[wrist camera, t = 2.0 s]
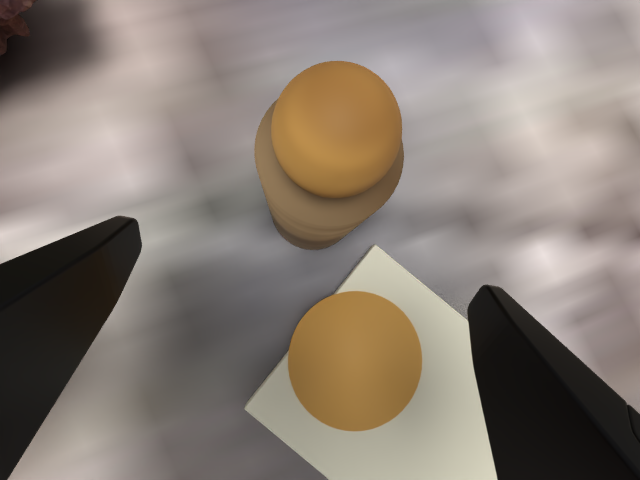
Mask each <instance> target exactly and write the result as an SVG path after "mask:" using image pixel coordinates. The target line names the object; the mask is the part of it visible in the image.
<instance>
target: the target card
mask: <svg viewBox="0 0 640 480" xmlns="http://www.w3.org/2000/svg"><path fill="white" fill-rule="evenodd" d="M244 409H245V410H246V411H247V412H248V413H250V414H251V415H252V416H253V417H254V418H256V419H257V420H258V421H259V422H260V423H262V424H263V425H264V426H265V427H266V428H268V429H269V430H270V431H271V432H272V433H274V434H275V435H276V436H277V437H278V438H280V439H281V440H282V441H283V442H284V443H286V444H287V445H288V446H289V447H290V448H292V449H293V450H294V451H295V452H297V453H298V454H299V455H300V456H301V457H303V458H304V459H305V460H306V461H307V462H309V463H310V464H311V465H312V466H313V467H315V468H316V469H317V470H318V471H319V472H321V473H322V474H323V475H324V476H325V477H327V478H328V479H329V480H497V475H496V470H495V466H494V461H493V456H492V452H491V447H490V443H489V438H488V433H487V429H486V424H485V419H484V415H483V410H482V406H481V401H480V396H479V392H478V387H477V382H476V378H475V373H474V368H473V361H472V353H471V343H470V333H469V324H468V321H467V320H466V319H465V318H464V317H463V316H461V315H460V314H459V313H458V312H457V311H455V310H454V309H453V308H452V307H450V306H449V305H448V304H447V303H446V302H444V301H443V300H442V299H441V298H440V297H438V296H437V295H436V294H435V293H434V292H432V291H431V290H430V289H429V288H427V287H426V286H425V285H424V284H423V283H421V282H420V281H419V280H418V279H417V278H415V277H414V276H413V275H412V274H410V273H409V272H408V271H407V270H406V269H404V268H403V267H402V266H401V265H400V264H398V263H397V262H396V261H395V260H393V259H392V258H391V257H390V256H389V255H387V254H386V253H385V252H384V251H383V250H381V249H380V248H379V247H378V246H376V245H373V246H371V248H370V249H369V250H368V251H367V253H366V254H365V255H364V256H363V258H362V259H361V260H360V261H359V263H358V264H357V265H356V266H355V268H354V269H353V270H352V271H351V273H350V274H349V275H348V276H347V278H346V279H345V280H344V281H343V283H342V284H341V285H340V286H339V288H338V289H337V290H336V291H335V293H334V294H333V295H331V296H329V297H327V298H325V299H323V300H321V301H320V302H318V303H317V304H315V305H314V306H313V307H312V308H311V309H310V310H309V311H308V312H307V313H306V314H305V315H304V316H303V318H302V319H301V320H300V322H299V323H298V325H297V327H296V329H295V331H294V333H293V336H292V339H291V342H290V347H289V350H288V352H287V353H286V354H285V355H284V357H283V358H282V359H281V360H280V362H279V363H278V364H277V365H276V367H275V368H274V369H273V370H272V372H271V373H270V374H269V375H268V377H267V378H266V379H265V380H264V382H263V383H262V384H261V385H260V387H259V388H258V389H257V390H256V392H255V393H254V394H253V395H252V397H251V398H250V399H249V400H248V402H247V403H246V405H245V408H244Z"/></svg>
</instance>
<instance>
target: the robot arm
mask: <svg viewBox="0 0 640 480" xmlns="http://www.w3.org/2000/svg"><path fill="white" fill-rule="evenodd" d="M141 248H142V242H141V236H140V231H139V225H138V222H137V220H136V219H134V218H130V217H125V216H116V217H113V218H111V219H108V220H106V221H104V222H101V223H99V224H96V225H94V226H91V227H89V228H87V229H84V230H82V231H79V232H77V233H75V234H72V235H70V236H67V237H65V238H62V239H60V240H58V241H55V242H53V243H50V244H48V245H45V246H43V247H41V248H38V249H36V250H33V251H31V252H29V253H26V254H24V255H21V256H19V257H16V258H14V259H12V260H9V261H7V262H4V263H2V264H0V480H7V479H8V478H9V476H10V475H11V473H12V471H13V470H14V468H15V467H16V465H17V463H18V462H19V460H20V458H21V457H22V455H23V454H24V452H25V450H26V449H27V447H28V446H29V444H30V442H31V441H32V439H33V437H34V436H35V434H36V433H37V431H38V429H39V428H40V426H41V425H42V423H43V421H44V420H45V418H46V417H47V415H48V413H49V412H50V410H51V408H52V407H53V405H54V404H55V402H56V400H57V399H58V397H59V396H60V394H61V392H62V391H63V389H64V388H65V386H66V384H67V383H68V381H69V379H70V378H71V376H72V375H73V373H74V371H75V370H76V368H77V367H78V365H79V363H80V362H81V360H82V359H83V357H84V355H85V354H86V352H87V350H88V349H89V347H90V346H91V344H92V342H93V341H94V339H95V338H96V336H97V334H98V333H99V331H100V330H101V328H102V326H103V325H104V323H105V321H106V320H107V318H108V317H109V315H110V313H111V312H112V310H113V308H114V307H115V305H116V303H117V301H118V299H119V297H120V295H121V293H122V291H123V289H124V287H125V285H126V282H127V280H128V278H129V276H130V274H131V272H132V270H133V267H134V265H135V263H136V261H137V259H138V257H139V255H140V252H141ZM467 314H468V324H469V333H470V343H471V353H472V361H473V368H474V373H475V378H476V382H477V387H478V392H479V396H480V401H481V406H482V410H483V415H484V419H485V424H486V429H487V433H488V438H489V443H490V447H491V452H492V456H493V461H494V466H495V470H496V475H497V480H640V414H639V413H638V412H637V411H636V410H635V409H634V408H633V407H631V406H630V405H627V403H626V401H625V400H624V399H623V398H621V397H620V396H619V395H618V394H617V393H616V392H615V391H614V390H613V389H612V388H611V387H609V386H608V385H607V384H606V383H605V382H604V381H603V380H602V379H601V378H600V377H598V376H597V375H596V374H595V373H594V372H593V371H592V370H591V369H590V368H589V367H587V366H586V365H585V364H584V363H583V362H582V361H581V360H580V359H579V358H578V357H576V356H575V355H574V354H573V353H572V352H571V351H570V350H569V349H568V348H567V347H565V346H564V345H563V344H562V343H561V342H560V341H559V340H558V339H557V338H556V337H555V336H553V335H552V334H551V333H550V332H549V331H548V330H547V329H546V328H545V327H544V326H542V325H541V324H540V323H539V322H538V321H537V320H536V319H535V318H534V317H533V316H531V315H530V314H529V313H528V312H527V311H526V310H525V309H524V308H523V307H522V306H520V305H519V304H518V303H517V302H516V301H515V300H514V299H513V298H512V297H511V296H510V295H508V294H507V293H506V292H505V291H504V290H503V289H502V288H500V287H497V286H492V285H483V286H482V287H481V288H480V289H479V291H478V292H477V293H476V295H475V296H474V298H473V299H472V301H471V302H470V304H469V306H468V311H467Z"/></svg>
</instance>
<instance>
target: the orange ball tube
mask: <svg viewBox="0 0 640 480" xmlns="http://www.w3.org/2000/svg"><path fill="white" fill-rule="evenodd" d="M403 160H404V151H403V143H402V119H401V114H400V110H399V107H398V104H397V101H396V99H395V97H394V95H393V93H392V91H391V90H390V88H389V87H388V86H387V84H386V83H385V82H384V81H383V80H382V79H381V78H380V77H379V76H378V75H376V74H375V73H373V72H372V71H371V70H369V69H367V68H365V67H363V66H361V65H358V64H355V63H351V62H345V61H330V62H324V63H319V64H317V65H314V66H311V67H310V68H308V69H306V70H304V71H303V72H301V73H300V74H298V75H297V76H296V77H295V78H293V79H292V80H291V81H290V82H289V84H288V85H287V86H286V87H285V89H284V90H283V92H282V93H281V95H280V97H279V98H278V99H277V100H276V101H275V102H274V103H273V104H272V105H271V107H270V108H269V109H268V110H267V112H266V113H265V115H264V117H263V118H262V120H261V123H260V125H259V128H258V131H257V135H256V139H255V162H256V168H257V171H258V174H259V178H260V181H261V184H262V187H263V190H264V193H265V197H266V200H267V203H268V206H269V209H270V212H271V215H272V219H273V222H274V224H275V226H276V228H277V230H278V232H279V233H280V234H281V235H282V237H284V238H285V239H286V240H287V241H288V242H290V243H291V244H293V245H295V246H297V247H300V248H303V249H309V250H318V249H323V248H327V247H329V246H332V245H333V244H335V243H337V242H338V241H339V240H341V239H342V238H343V237H344V236H346V235H347V234H348V233H349V232H351V231H352V230H353V229H354V228H356V227H357V226H358V225H359V224H361V223H362V222H363V221H364V220H366V219H367V218H368V217H369V216H371V215H372V214H373V213H374V212H376V211H377V210H378V209H379V208H381V207H382V206H383V205H384V204H385V203H386V201H387V200H388V199H389V198H390V196H391V195H392V194H393V192H394V190H395V188H396V186H397V185H398V182H399V179H400V177H401V173H402V168H403Z"/></svg>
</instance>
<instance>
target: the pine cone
mask: <svg viewBox="0 0 640 480" xmlns="http://www.w3.org/2000/svg"><path fill="white" fill-rule="evenodd" d="M36 1H37V0H0V55H2V54H4V53H5V52H7V39H8V38H9V37H11V36H13V35H16V34H17V35H20V36H26V37H28V36H29V35H30V32H29V27H28V26H27V25H26V23H25V21H24V19H23V18H22V17H21V16H20V15H19V13H20V12H24V11H26V10H27V9H29V8H30V7H31V6H32V4H33V3H34V2H36Z"/></svg>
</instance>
